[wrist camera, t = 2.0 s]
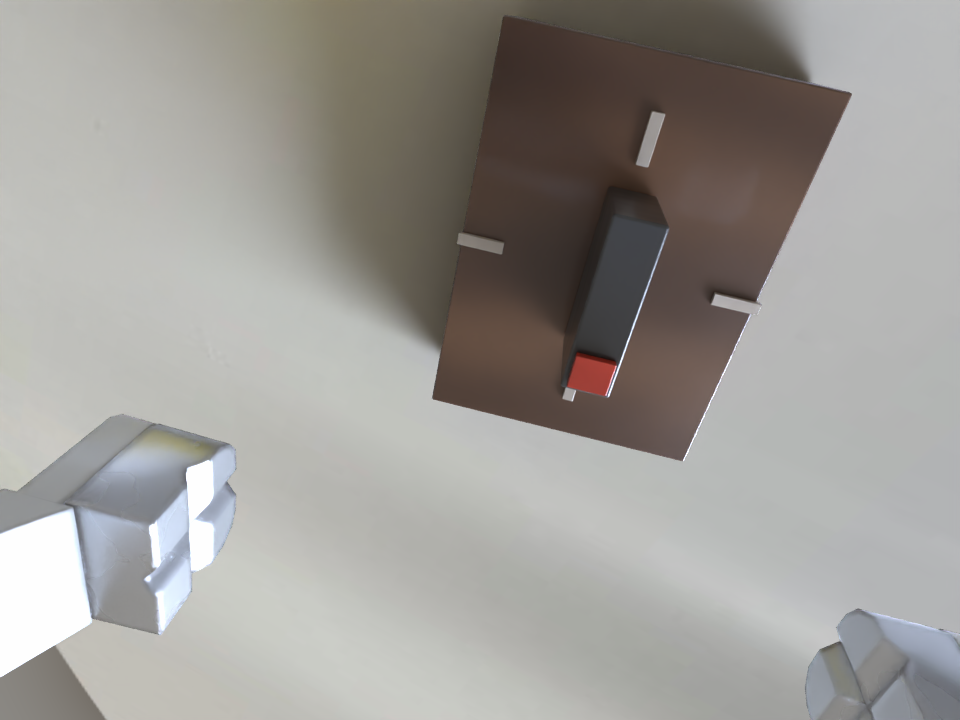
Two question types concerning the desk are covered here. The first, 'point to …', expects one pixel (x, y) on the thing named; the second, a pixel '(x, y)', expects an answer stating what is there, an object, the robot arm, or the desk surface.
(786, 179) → the dial panel
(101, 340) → the desk surface
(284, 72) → the desk surface
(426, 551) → the desk surface
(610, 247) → the dial knob
